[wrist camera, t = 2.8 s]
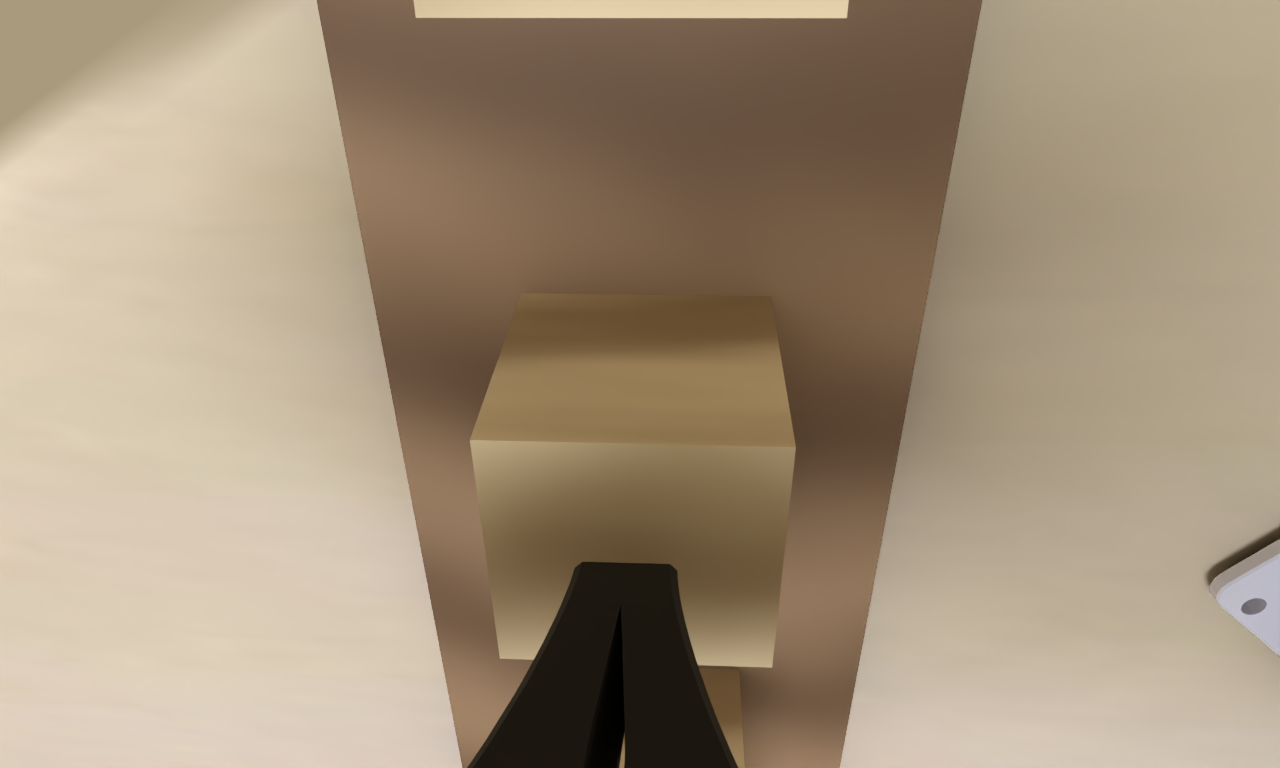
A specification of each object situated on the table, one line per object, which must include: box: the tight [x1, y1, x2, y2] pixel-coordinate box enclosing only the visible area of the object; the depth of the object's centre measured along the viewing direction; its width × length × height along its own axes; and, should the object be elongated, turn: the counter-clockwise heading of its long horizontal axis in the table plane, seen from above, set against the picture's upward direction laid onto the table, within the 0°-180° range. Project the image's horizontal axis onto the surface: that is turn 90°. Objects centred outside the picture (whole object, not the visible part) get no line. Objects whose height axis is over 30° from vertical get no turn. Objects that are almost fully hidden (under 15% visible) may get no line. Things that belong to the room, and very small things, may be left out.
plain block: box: [470, 293, 796, 668], centre depth 15 cm, size 4×4×4 cm
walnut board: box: [317, 0, 982, 768], centre depth 18 cm, size 28×10×1 cm, turn 1°
